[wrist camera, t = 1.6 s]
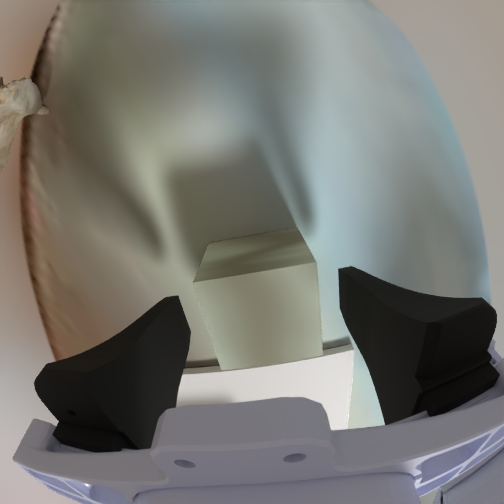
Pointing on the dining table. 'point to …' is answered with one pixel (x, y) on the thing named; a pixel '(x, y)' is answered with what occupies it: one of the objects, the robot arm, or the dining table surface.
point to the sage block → (260, 299)
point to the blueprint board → (278, 383)
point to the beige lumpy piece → (16, 111)
